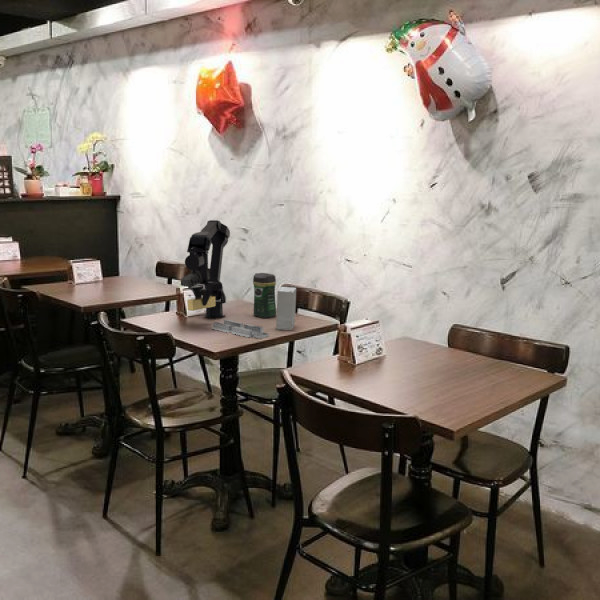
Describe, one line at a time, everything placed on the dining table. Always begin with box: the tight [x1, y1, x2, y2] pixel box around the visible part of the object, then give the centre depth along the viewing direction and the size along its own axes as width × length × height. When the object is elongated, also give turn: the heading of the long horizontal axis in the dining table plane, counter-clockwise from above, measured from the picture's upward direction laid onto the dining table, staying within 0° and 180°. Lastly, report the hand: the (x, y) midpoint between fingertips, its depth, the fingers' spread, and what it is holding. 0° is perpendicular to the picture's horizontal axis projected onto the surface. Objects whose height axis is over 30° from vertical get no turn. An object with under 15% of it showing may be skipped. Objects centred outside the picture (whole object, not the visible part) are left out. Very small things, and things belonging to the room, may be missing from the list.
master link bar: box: [187, 296, 216, 312], centre depth 261 cm, size 3×12×4 cm, turn 140°
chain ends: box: [212, 319, 270, 340], centre depth 252 cm, size 8×24×3 cm, turn 50°
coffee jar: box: [252, 272, 277, 319], centre depth 279 cm, size 10×8×19 cm
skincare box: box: [275, 286, 297, 331], centre depth 258 cm, size 8×7×16 cm
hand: (201, 305), depth 261 cm, fingers closed on master link bar, 3 cm apart
